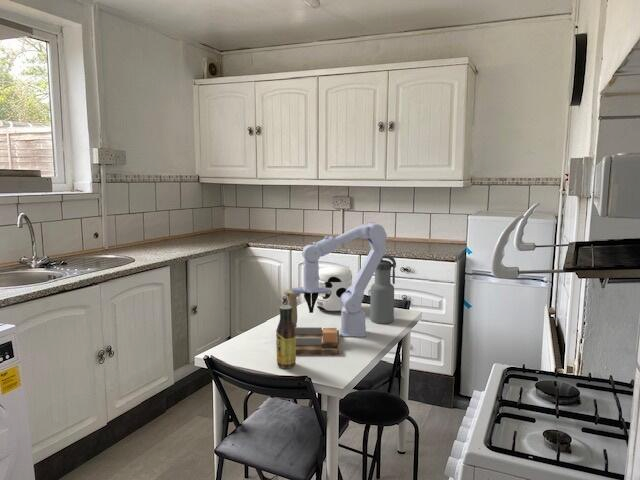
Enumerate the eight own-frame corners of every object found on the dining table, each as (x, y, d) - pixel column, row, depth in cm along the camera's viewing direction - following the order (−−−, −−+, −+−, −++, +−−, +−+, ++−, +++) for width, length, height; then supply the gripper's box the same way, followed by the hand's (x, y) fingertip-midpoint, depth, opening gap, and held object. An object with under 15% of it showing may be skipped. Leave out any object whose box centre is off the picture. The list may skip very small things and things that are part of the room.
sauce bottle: (276, 362, 159) (275, 303, 156) (295, 361, 159) (295, 303, 156) (276, 370, 152) (275, 309, 149) (296, 369, 153) (295, 309, 150)
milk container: (356, 305, 224) (356, 267, 221) (350, 316, 207) (350, 275, 205) (320, 303, 228) (320, 265, 225) (311, 313, 211) (311, 273, 209)
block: (336, 337, 176) (336, 327, 176) (336, 341, 171) (336, 332, 171) (322, 337, 176) (322, 327, 176) (322, 341, 171) (322, 332, 171)
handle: (295, 331, 189) (294, 294, 186) (282, 328, 192) (281, 291, 190) (302, 327, 193) (302, 291, 190) (289, 324, 196) (289, 289, 194)
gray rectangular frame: (321, 333, 180) (321, 327, 179) (321, 345, 168) (321, 338, 168) (285, 333, 180) (284, 327, 180) (281, 344, 169) (281, 338, 168)
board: (338, 335, 184) (338, 330, 184) (339, 355, 164) (339, 349, 164) (285, 334, 184) (285, 329, 184) (280, 354, 165) (280, 349, 164)
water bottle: (394, 317, 206) (395, 253, 201) (395, 324, 196) (396, 257, 192) (370, 316, 207) (370, 252, 202) (370, 324, 197) (371, 257, 193)
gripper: (290, 279, 176) (291, 315, 178) (330, 279, 176) (330, 315, 178) (292, 275, 183) (292, 309, 185) (330, 275, 183) (330, 309, 185)
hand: (311, 312), depth 182 cm, fingers closed
